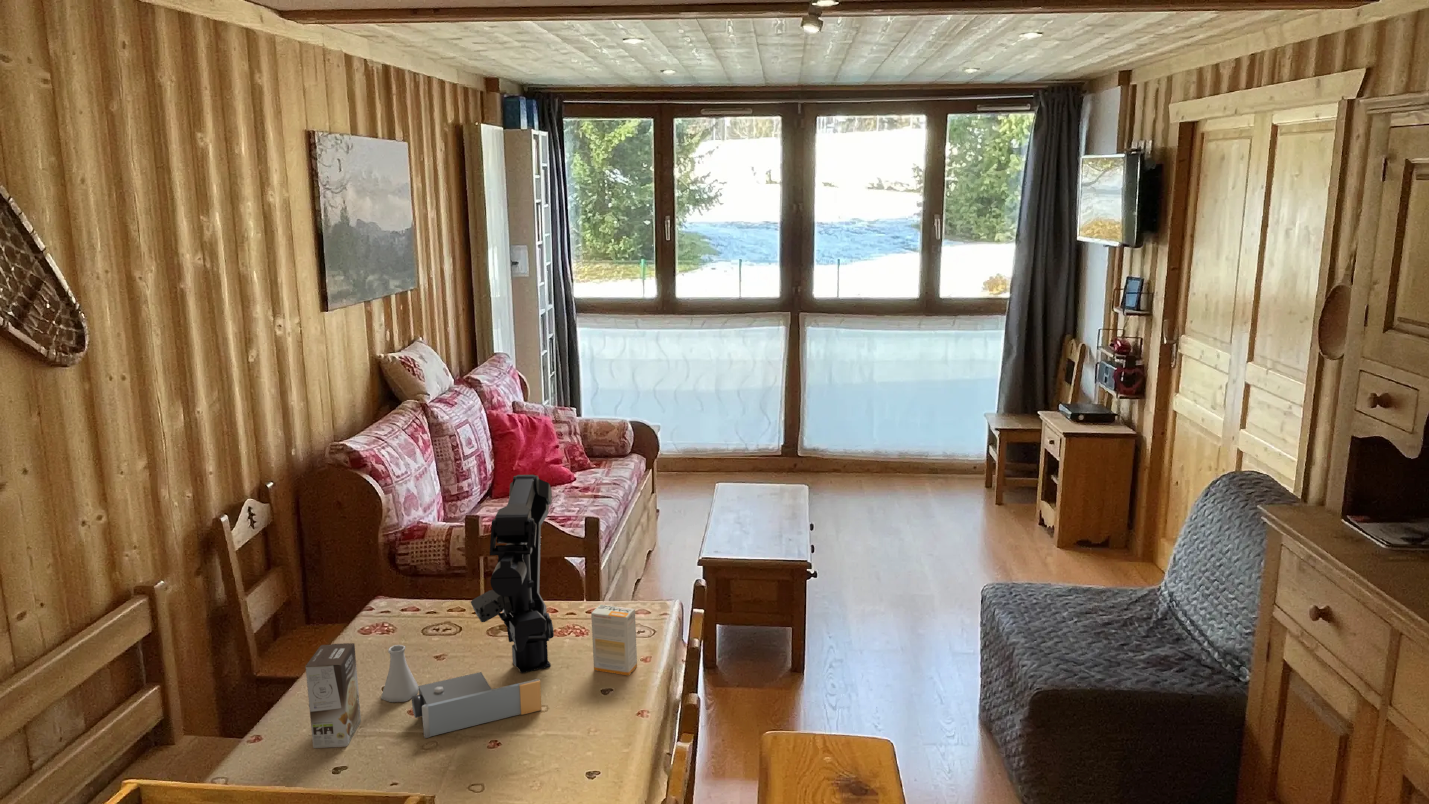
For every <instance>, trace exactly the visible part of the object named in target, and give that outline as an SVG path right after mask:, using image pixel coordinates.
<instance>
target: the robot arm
mask: <svg viewBox="0 0 1429 804" xmlns="http://www.w3.org/2000/svg"><path fill="white" fill-rule="evenodd" d="M508 495H509V496H508V501H507V504H506V506H504V507H501V508H499V509H498V510H497V512H496V514H495V518H493V519H492V520H491V527H490V528H491V529H490V530H491V531H490V544H489V556H497V563H496V565H495V568H494V570H493V571H492V574H491V577H490V581H489V582H490V587H491V590H488V591H486V592H484V593H482V594H479V596H477V597H474V598H473V599H472V600H471V601H470V604H471V606H472V608H473V611H474V612H475V614H476V617H477V618H478V619H479V620H480V622H481V623H485V622H488V621H489V620H491V619H494V618H495V617H496V616H498V617H499V618H500V619H501V621H503V624H504V625H505V626H506V631H507V637H508V638H507V639H508V643H513V644H512V645H511V654H512V664H513V665H514V667H515V668H517V670H518V671H519V672H520V674H525V673H529V672H533V671H538V670H542V669H547V668H550V667H551V666H552V664H551V663H550V661H549V656H548V642H550V639H553V638H554V637H555V636H554V634H555V633H554V625H553V621H552V619H551V616H550V613H549V612H547V605H546V603H545V601H544V599H543V598H542V596H541V594H540V582H541V581H540V580H541V579H540V577H541V576H540V574H541V571H540V570H541V542H542V541H541V536H542V530H541V529H542V525H543V523H544V521H545V520H546V518H547V517H548V515H549V513H550V512H549V511H550V505H552V503H553V491H552V486H551V485H550V483H549V482H547V481H545V480H543V479H540V478H539V475H535V474H517V475H514V476H513V478H512V482H510V483H509V494H508ZM496 543H497V544H496Z"/></svg>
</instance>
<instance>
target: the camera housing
mask: <svg viewBox="0 0 1429 804" xmlns="http://www.w3.org/2000/svg"><path fill="white" fill-rule="evenodd" d="M418 686H419V691H418V694H417V695H416V696H412V698H411V705H412V706H411V708H412V713H413V717H414V718H415V719H417V718H422V720H423V717H422V706H423V705H428V704H432V703H436V702H441V701H445V700H449V699H453V698H458V697H462V696H466V695H470V694H475V693H479V692H483V691H488V690H492V689H493V688H492V687H491V686H490V684H489V682H488V681H487V679H486V678H485V676H484V674H483V673H482V671H478V672H476V673H475V672H474V673H470V674H466V675H461V676H456V677H453V678H448V679H444V680H439V681H434V682H430V683H426V684H421V685H418Z"/></svg>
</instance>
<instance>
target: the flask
mask: <svg viewBox="0 0 1429 804" xmlns="http://www.w3.org/2000/svg"><path fill="white" fill-rule="evenodd" d="M406 648H407V647H406V646H405V645H403V644H394V645H392V646H390V647H388V650H387V652H388V654H389V658H390V660H389V669H388V673H387V676H386V679H385V683H384V685H383V690H382V693H381V696H380V699H381V700H384V701H387V702H389V703H400V702H401V703H403V702H408V701H409V700H412V696H416V695H419V686H420V685H419V684H418V682H417V680H416V679H415V677H414V675H413V673H412V671H411V669H410V667H409V665H408V663H407V659H406V655H405V650H406Z"/></svg>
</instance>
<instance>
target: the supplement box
mask: <svg viewBox="0 0 1429 804" xmlns="http://www.w3.org/2000/svg"><path fill="white" fill-rule="evenodd" d="M590 614H591V615H590V617H591V633H592V634H591V637H592V655H593V656H592V657H593V671H595V670H597V671H596V672H603V673H608V674H609V673H610V674H615V673H616V674H617V675H622V676H627V677H628V676H630V675H631V674H632V673H633V672H634V670H635V669H636V668H637V667H638V652H637V648H638V647H637V628H636V627H637V624H636V608H630V607H621V606H616V605H615V606H614V605H606V604H600V605H598V606H597V607H596V608H595V609H594V610H593V611H591V613H590ZM631 672H632V673H631ZM630 673H631V674H630Z"/></svg>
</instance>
